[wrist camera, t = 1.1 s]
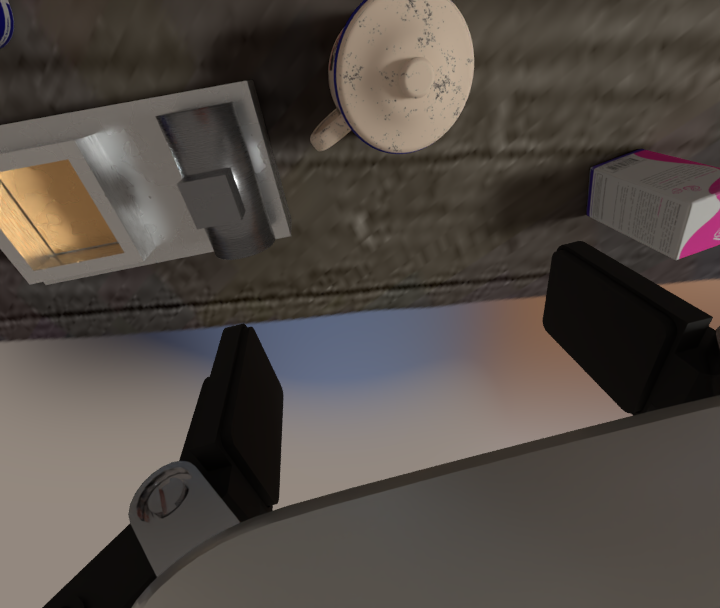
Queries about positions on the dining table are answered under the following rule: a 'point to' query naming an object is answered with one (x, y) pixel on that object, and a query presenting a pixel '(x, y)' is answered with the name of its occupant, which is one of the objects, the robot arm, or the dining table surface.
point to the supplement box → (658, 201)
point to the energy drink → (6, 23)
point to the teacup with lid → (398, 75)
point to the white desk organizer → (140, 184)
